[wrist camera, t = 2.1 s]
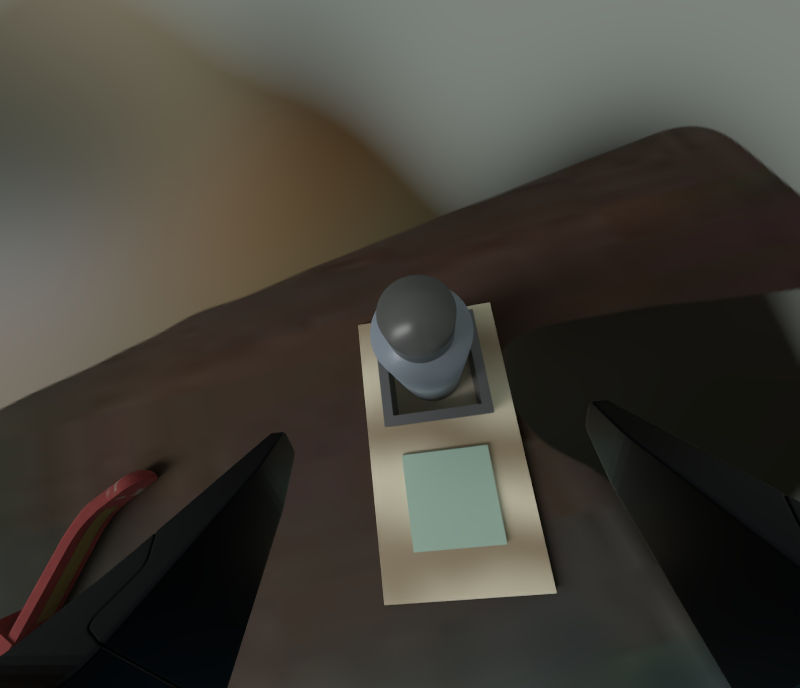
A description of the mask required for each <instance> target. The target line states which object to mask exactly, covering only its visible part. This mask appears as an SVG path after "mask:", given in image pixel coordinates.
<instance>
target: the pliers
mask: <svg viewBox="0 0 800 688" xmlns="http://www.w3.org/2000/svg"><path fill="white" fill-rule="evenodd" d="M157 479H158V477H157V475H156V473H155V472H153V471H150V470H139V471H135V472H132V473H130V474H128V475H126V476H124V477H123V478H122V479H120V480H119V481H117V482H116V483H115V484H113V485H112V486H111V487H109V488H108V489H107V490H105V491H104V492H103V493H101V494H100V495H99V496H97V497H96V498H95V499H93V500H92V501H91V502H89V503H88V504H87V505H86V506H85V507H84V508H83V510H82V511H81V512H80V513H79V514H78V516H77V517H76V518H75V520H74V521H73V523H72V524H71V525H70V527H69V528H68V530H67V531H66V533H65V534H64V536H63V538H62V539H61V541H60V543H59V545H58V546H57V548H56V550H55V552H54V554H53V555H52V557H51V559H50V561H49V563H48V564H47V566H46V568H45V570H44V571H43V573H42V575H41V577H40V579H39V580H38V582H37V584H36V586H35V588H34V589H33V591H32V593H31V595H30V597H29V598H28V600H27V602H26V604H25V606H24V607H23V609H22V610H20V611H18V612H16V613H13V614H11V615H9V616H7V617H5V618H3V619H1V620H0V656H1V655H2V654H4V653H5V652H6V651H8V650H9V649H10V648H12V647H13V646H14V645H16V644H17V643H18V642H20V641H21V640H22V639H23V638H25V637H26V636H27V635H29V634H30V633H31V632H32V631H34V630H35V629H36V628H38V627H39V626H40V625H41V624H43V623H44V622H45V621H47V620H48V619H49V618H50V617H52V616H53V615H54V614H55V613H57V612H58V611H59V610H61V608H62V607H63V605H64V603H65V601H66V599H67V597H68V595H69V593H70V592H71V590H72V588H73V586H74V584H75V582H76V580H77V578H78V577H79V575H80V573H81V571H82V569H83V567H84V565H85V563H86V562H87V560H88V558H89V556H90V554H91V552H92V550H93V548H94V547H95V545H96V543H97V541H98V539H99V537H100V535H101V534H102V532H103V530H104V529H105V527H106V526H107V524H108V523H109V521H110V520H111V519H112V517H113V516H114V515H115V514H116V513H117V512H118V511H119V509H121V508H122V507H123V506H124V505H125V504H126V503H127V502H129V501H130V500H131V499H132V498H134V497H135V496H136V495H138V494H139V493H140V492H141V491H143V490H144V489H145V488H147V487H148V486H149V485H150V484H152V483H153V482H154V481H155V480H157Z"/></svg>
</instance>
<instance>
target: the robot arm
mask: <svg viewBox="0 0 800 688" xmlns="http://www.w3.org/2000/svg"><path fill="white" fill-rule="evenodd" d="M586 429H587V432H588V434H589V437H590V439H591V441H592V443H593V445H594V448H595V450H596V452H597V454H598V456H599V458H600V460H601V463H602V465H603V467H604V469H605V472H606V474H607V476H608V478H609V480H610V482H611V484H612V486H613V488H614V489H615V491H616V493H617V495H618V496H619V498H620V500H621V501H622V503H623V505H624V507H625V508H626V510H627V512H628V513H629V515H630V517H631V518H632V520H633V522H634V523H635V525H636V527H637V529H638V530H639V532H640V534H641V535H642V537H643V539H644V540H645V542H646V544H647V546H648V547H649V549H650V551H651V552H652V554H653V556H654V557H655V559H656V561H657V562H658V564H659V566H660V568H661V569H662V571H663V573H664V574H665V576H666V578H667V579H668V581H669V583H670V584H671V586H672V588H673V590H674V591H675V593H676V595H677V596H678V598H679V600H680V601H681V603H682V605H683V607H684V608H685V610H686V612H687V613H688V615H689V617H690V618H691V620H692V622H693V623H694V625H695V627H696V629H697V630H698V632H699V634H700V635H701V637H702V639H703V640H704V642H705V644H706V646H707V647H708V649H709V651H710V652H711V654H712V656H713V657H714V659H715V661H716V662H717V664H718V666H719V668H720V669H721V671H722V673H723V674H724V676H725V678H726V679H727V681H728V683H729V684H730V686H731V688H800V502H799V501H797V500H795V499H793V498H791V497H789V496H784V495H783V493H781V492H780V491H778V490H776V489H774V488H772V487H770V486H768V485H767V484H764V483H763V482H761V481H759V480H757V479H755V478H753V477H751V476H749V475H748V474H746V473H744V472H742V471H740V470H738V469H736V468H734V467H732V466H731V465H729V464H727V463H725V462H723V461H721V460H719V459H718V458H716V457H714V456H711V455H710V454H708V453H706V452H704V451H702V450H701V449H699V448H697V447H695V446H693V445H691V444H689V443H687V442H685V441H684V440H682V439H679V438H678V437H676V436H674V435H672V434H670V433H668V432H667V431H665V430H663V429H661V428H659V427H657V426H655V425H653V424H652V423H650V422H648V421H646V420H644V419H642V418H640V417H638V416H636V415H635V414H633V413H631V412H629V411H627V410H625V409H623V408H621V407H620V406H618V405H616V404H614V403H612V402H610V401H607V400H601V401H592V402H591V403H590V404H589V407H588V413H587V418H586ZM294 457H295V452H294V449H293V447H292V445H291V443H290V441H289V439H288V437H287V435H286V434H285V433H284V432H279V433H272V434H270V435H269V436H267V437H266V438H265V439H264V440H263V441H262V442H260V443H259V444H258V445H257V446H256V447H255V448H253V449H252V450H251V451H250V452H249V453H248V454H246V455H245V456H244V457H243V458H242V459H241V460H239V461H238V462H237V463H236V464H235V465H234V466H232V467H231V468H230V469H229V470H228V471H227V472H225V473H224V474H223V475H222V476H221V477H220V478H218V479H217V480H216V481H215V482H214V483H213V484H211V485H210V486H209V487H208V488H207V489H206V490H204V491H203V492H202V493H201V494H200V495H199V496H197V497H196V498H195V499H194V500H193V501H192V502H190V503H189V504H188V505H187V506H186V507H185V508H183V509H182V510H181V511H180V512H179V513H178V514H176V515H175V516H174V517H173V518H172V519H171V520H169V521H168V522H167V523H166V524H165V525H164V526H162V527H161V528H160V529H159V530H158V531H157V532H156V534H153V535H152V536H151V537H149V538H148V539H147V540H146V541H145V542H144V543H142V544H141V545H140V546H139V547H138V548H137V549H135V550H134V551H133V552H132V553H131V554H129V555H128V556H127V557H126V558H125V559H123V560H122V561H121V562H120V563H119V564H117V565H116V566H115V567H114V568H113V569H111V570H110V571H109V572H108V573H106V574H105V575H104V576H103V577H101V578H100V579H99V580H98V581H96V582H95V583H94V584H93V585H91V586H90V587H89V588H87V589H86V590H85V591H84V592H82V593H81V594H80V595H79V596H77V597H76V598H75V599H73V600H72V601H71V602H70V603H68V604H67V605H66V606H64V607H63V608H62V609H61V610H59V611H58V612H57V613H55V614H54V615H53V616H52V617H50V618H49V619H48V620H47V621H45V622H44V623H43V624H41V625H40V626H39V627H38V628H36V629H35V630H34V631H32V632H31V633H30V634H29V635H27V636H26V637H25V638H23V639H22V640H21V641H20V642H18V643H17V644H16V645H14V646H13V647H12V648H10V649H9V650H8V651H6V652H5V653H4V654H2V655H1V656H0V688H227V687H228V684H229V681H230V678H231V674H232V671H233V668H234V665H235V662H236V658H237V655H238V652H239V649H240V646H241V642H242V639H243V636H244V633H245V630H246V627H247V623H248V620H249V617H250V614H251V611H252V607H253V604H254V601H255V598H256V595H257V591H258V588H259V585H260V582H261V579H262V576H263V572H264V569H265V566H266V563H267V560H268V556H269V553H270V550H271V547H272V544H273V541H274V537H275V534H276V531H277V528H278V525H279V521H280V518H281V515H282V512H283V508H284V505H285V500H286V496H287V491H288V486H289V481H290V477H291V472H292V467H293V462H294Z"/></svg>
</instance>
